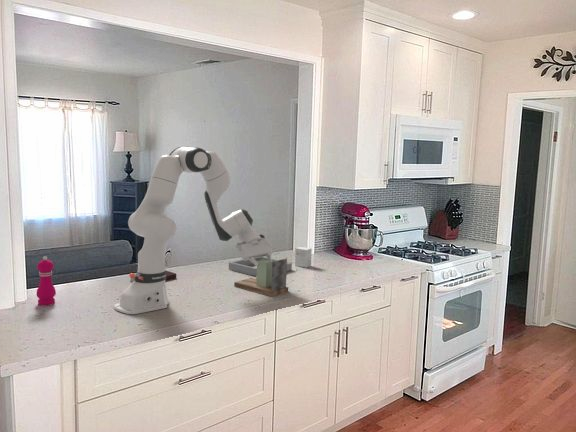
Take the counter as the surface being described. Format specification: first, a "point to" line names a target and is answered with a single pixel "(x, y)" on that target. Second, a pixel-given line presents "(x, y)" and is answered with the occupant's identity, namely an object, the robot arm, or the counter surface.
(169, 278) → the book
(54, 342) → the counter surface
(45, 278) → the pepper mill
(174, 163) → the robot arm
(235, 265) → the gray square frame
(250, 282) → the bookend
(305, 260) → the small box
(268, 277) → the sage green box
